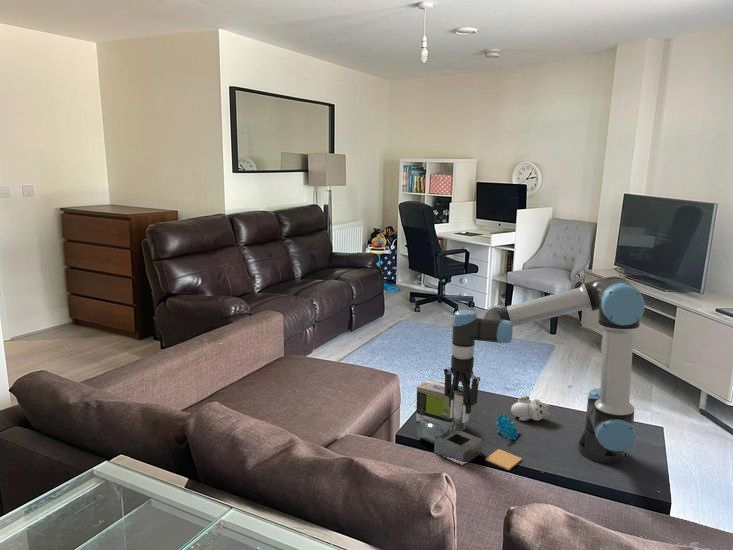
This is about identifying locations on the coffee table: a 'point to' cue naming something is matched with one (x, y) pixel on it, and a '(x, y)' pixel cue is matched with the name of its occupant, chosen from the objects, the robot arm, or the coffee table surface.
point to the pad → (503, 459)
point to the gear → (506, 427)
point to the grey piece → (450, 441)
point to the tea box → (433, 404)
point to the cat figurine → (530, 409)
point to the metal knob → (458, 409)
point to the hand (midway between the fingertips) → (459, 418)
